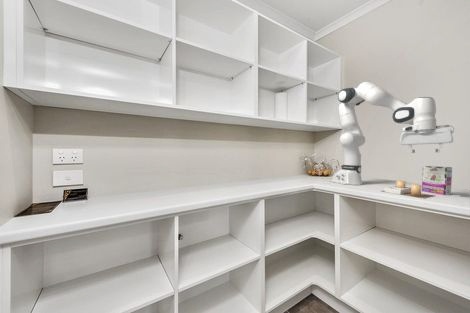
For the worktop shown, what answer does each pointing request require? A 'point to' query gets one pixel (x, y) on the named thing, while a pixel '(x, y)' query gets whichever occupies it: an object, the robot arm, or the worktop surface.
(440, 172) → the candy bar box
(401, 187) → the housing
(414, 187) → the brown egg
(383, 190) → the assembly board
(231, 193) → the worktop surface
